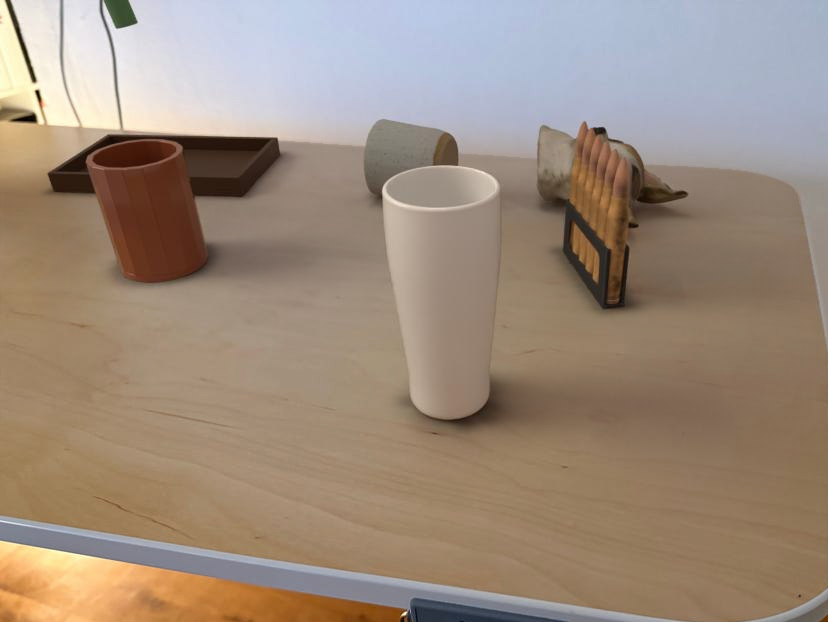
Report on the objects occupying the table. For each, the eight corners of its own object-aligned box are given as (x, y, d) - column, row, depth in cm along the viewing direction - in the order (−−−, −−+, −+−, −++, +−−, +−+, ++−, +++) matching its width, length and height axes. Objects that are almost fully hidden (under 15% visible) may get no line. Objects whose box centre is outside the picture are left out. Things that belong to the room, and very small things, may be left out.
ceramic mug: (440, 214, 75) (437, 137, 71) (365, 205, 77) (358, 130, 73) (471, 178, 84) (470, 108, 79) (402, 171, 86) (398, 102, 81)
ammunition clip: (562, 250, 68) (570, 118, 61) (581, 248, 69) (591, 117, 62) (602, 309, 60) (617, 162, 53) (624, 306, 60) (641, 160, 53)
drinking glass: (405, 369, 53) (388, 164, 45) (501, 370, 53) (502, 164, 44) (393, 430, 48) (371, 209, 39) (500, 432, 47) (501, 210, 39)
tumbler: (105, 280, 64) (67, 168, 59) (144, 243, 70) (114, 138, 65) (188, 283, 64) (158, 170, 58) (220, 245, 70) (196, 139, 64)
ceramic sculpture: (573, 97, 78) (703, 134, 70) (565, 175, 83) (685, 219, 75) (508, 122, 71) (644, 167, 64) (504, 206, 76) (629, 256, 69)
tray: (242, 196, 80) (238, 177, 78) (53, 191, 81) (46, 173, 80) (280, 154, 90) (277, 137, 89) (113, 150, 92) (107, 134, 91)
